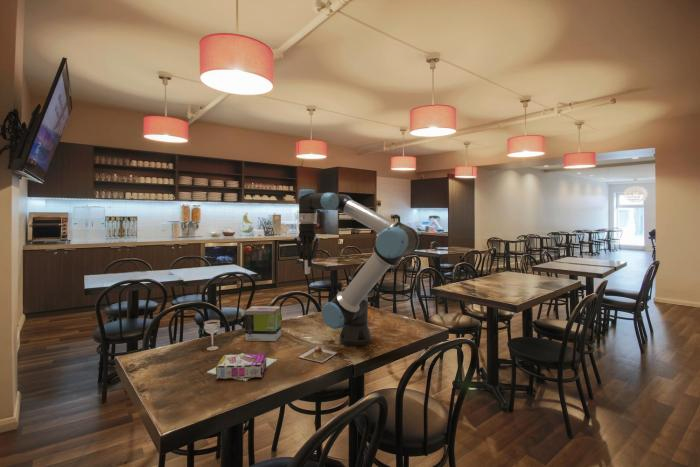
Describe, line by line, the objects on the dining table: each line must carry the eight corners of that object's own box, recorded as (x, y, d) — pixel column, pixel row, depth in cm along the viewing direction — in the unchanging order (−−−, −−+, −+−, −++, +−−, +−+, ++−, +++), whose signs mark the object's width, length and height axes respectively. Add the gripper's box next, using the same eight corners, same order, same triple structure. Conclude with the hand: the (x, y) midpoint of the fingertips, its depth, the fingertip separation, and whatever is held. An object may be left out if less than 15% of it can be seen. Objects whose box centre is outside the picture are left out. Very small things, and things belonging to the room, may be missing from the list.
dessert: (337, 355, 154) (337, 344, 154) (322, 365, 144) (322, 353, 143) (314, 350, 160) (314, 339, 160) (298, 359, 149) (298, 348, 149)
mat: (277, 360, 147) (277, 359, 147) (245, 381, 128) (245, 380, 128) (241, 354, 154) (241, 353, 154) (206, 373, 135) (206, 371, 135)
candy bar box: (262, 364, 130) (215, 366, 128) (262, 377, 130) (215, 380, 129) (266, 352, 141) (223, 354, 140) (266, 364, 141) (223, 366, 140)
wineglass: (215, 351, 157) (214, 324, 156) (201, 350, 158) (200, 323, 158) (223, 346, 164) (223, 320, 163) (210, 345, 165) (209, 319, 164)
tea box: (281, 335, 179) (281, 305, 178) (275, 342, 169) (275, 311, 168) (252, 334, 180) (251, 305, 180) (244, 341, 170) (244, 310, 170)
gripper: (290, 223, 165) (291, 274, 166) (315, 223, 160) (316, 275, 161) (299, 222, 172) (299, 271, 173) (323, 222, 167) (323, 273, 168)
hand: (307, 273), depth 167 cm, fingers closed
